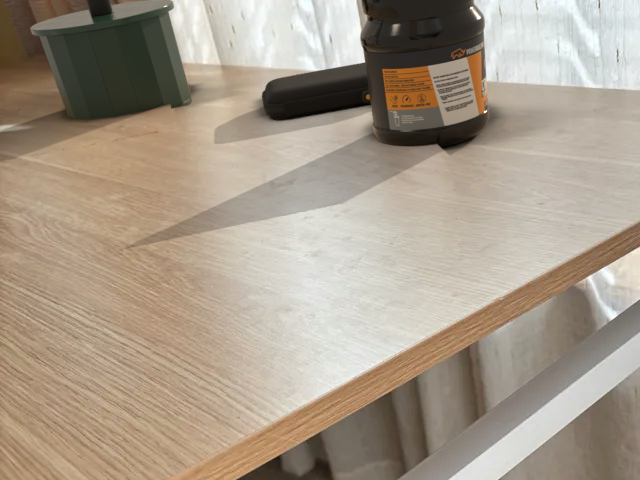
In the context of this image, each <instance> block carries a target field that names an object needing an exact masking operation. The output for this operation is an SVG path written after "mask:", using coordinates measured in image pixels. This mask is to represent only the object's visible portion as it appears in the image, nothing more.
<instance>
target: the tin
mask: <svg viewBox="0 0 640 480" xmlns="http://www.w3.org/2000/svg"><path fill="white" fill-rule="evenodd" d="M38 37H39V39H40V43H41V45H42V49H43V51H44V53H45V57H46V59H47V62H48V64H49V67H50V70H51V72H52V76H53V78H54V81H55V84H56V87H57V89H58V92H59V95H60V98H61V101H62V103H63V106H64V109H65V111H66V114H67V116H68V117H69V118H73V119H76V120H97V119H105V118H114V117H115V118H116V117H121V116H127V115H131V114H136V113H141V112H145V111H148V110H151V109H156V108H159V107H162V106H165V105H168V104H170V109H171V110H172V109H176V108H182V107H187V106H189V105H190V104H191V103H192V100H193V98H192V95H191V91H190V87H189V83H188V79H187V75H186V72H185V67H184V64H183V61H182V56H181V52H180V49H179V44H178V42H177V38H176V34H175V31H174V27H173V23H172V19H171V15H170V11H169V12H166V13H164V14H161V15H158V16H155V17H152V18H148V19H145V20H141V21H137V22H133V23H129V24H124V25H120V26H115V27H110V28H105V29H100V30H94V31H88V32H82V33H75V34H67V35H57V36H38Z"/></svg>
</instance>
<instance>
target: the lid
mask: <svg viewBox="0 0 640 480" xmlns="http://www.w3.org/2000/svg"><path fill="white" fill-rule="evenodd" d="M85 2H86V6H87V9H84V10H80V11H75V12H70V13H67V14H63V15H60V16H59V15H58V16H56V17H52V18H48V19H45V20H42V21H40V22H37V23H35V24H33V25H32V26H31V27H30V28H29V29H30V33H31V34H32V35H33V36H36V37H39V36H57V35H67V34H75V33H82V32H88V31H94V30H100V29H105V28H110V27H115V26H120V25H124V24H129V23H133V22H137V21H141V20H145V19H148V18H152V17H155V16H158V15H161V14H164V13H166V12H169V13H170V12H171V11H173V9H175V4H174V1H173V0H137V1H129V2H123V3H116V4H112V2H111V0H85Z"/></svg>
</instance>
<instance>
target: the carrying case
mask: <svg viewBox="0 0 640 480" xmlns="http://www.w3.org/2000/svg"><path fill="white" fill-rule="evenodd" d="M261 100H262V107H263V111H264V112H265V114H266V115H267V116H269V117H271V119H272V120H274V121H283V120H288V119H289V120H290V119H294V118H301V117H305V116H312V115H317V114H321V113H327V112H332V111H338V110H344V109H349V108H354V107H361V106H366V105H371V102H370V95H369V87H368V80H367V73H366V66H365V62H360V63H354V64H349V65H343V66H342V65H341V66H336V67H332V68H331V67H330V68H325V69H320V70H315V71H309V72H304V73H298V74H292V75H288V76H283V77H278V78H274V79H272V80H269V81H268V82H267V84H266V85H265V88H264V90H263V91H262V93H261Z"/></svg>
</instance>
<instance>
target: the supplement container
mask: <svg viewBox="0 0 640 480" xmlns="http://www.w3.org/2000/svg"><path fill="white" fill-rule="evenodd" d="M360 3H361V9H362V14H364V15H366V21H365V23H364V25H363V27H362V29H361V31H360V33H359V40H360V45H361V47H362V51H363V58H364V63H365V66H366V73H367V80H368V87H369V95H370V102H371V104H370V107H371V108H370V109H371V116H372V128H373V133H374V135H375V137H376V140H378V141H379V142H380V143H382V144H385V145H390V146H396V147H397V146H398V147H419V146H429V145H438V147H440V148H443V146H444V147H448V145H449V146H452V144H453V145H456V144H459V142H460V143H461V142H462V143H463V142H465V141H468V140H470V139H472V138H475V137H476V136H478V135H479V134H480V133H481V132H482V131H483V130H484V129H485V128H486V126H487V125H488V122H489V119H490V107H489V102H488V101H489V100H488V99H489V98H488V83H487V66H486V65H487V64H486V46H485V29H486V19H485V16H484V14H483V12H482V11H481V10H480V9H479V7H478V6H477V5H476V4H475V0H360Z"/></svg>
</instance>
